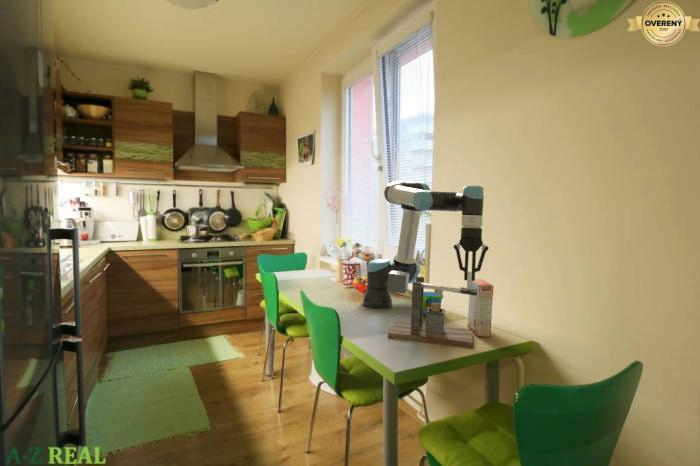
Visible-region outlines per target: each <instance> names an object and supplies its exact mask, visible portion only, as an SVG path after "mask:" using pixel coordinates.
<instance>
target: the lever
mask: <svg viewBox="0 0 700 466" xmlns="http://www.w3.org/2000/svg"><path fill="white" fill-rule="evenodd" d="M408 281H409V273H407V272H400V271H393V270H392V271H391V272H390V273H389V277H388V286H387V291H390V292H392V293H398V294H405V293H406V292H408V289H409V283H408ZM419 282H421V281H419ZM421 287H422V288H425V289H431V290H434V291H433V292H434V295H439V296H442V294H443V293H444V292H450V293H454V294H456V293H457V294H463V295H468V296H469V295H475V296H477V290H476V289H471V290H467V287H463V286H461V287H460V288H459V287H452V286H444V285H439V284H433V283H432V284H431V283H425V282H424V283H421ZM443 295H444V294H443Z"/></svg>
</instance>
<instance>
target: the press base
mask: <svg viewBox="0 0 700 466" xmlns="http://www.w3.org/2000/svg"><path fill="white" fill-rule="evenodd" d="M419 281H421V282H419ZM421 283H425V277H424V276H418V277H416V281H415V282H413V283H412V290H411V292H412V294H411V315H410V317H411V318H410V322H404V321H403V322H402V321H396V320H395V321H394V322H393V324H392V325H391V327H390V329H389V331H388V333H387V338H388V337H391V338H390V339H395V338H398V339H397V340H403V339H404V340H405V341H413V342H421V343H428V344H439V345H447V346H455V347H464V348H470V349H471V348H473V332H472V330H471V329H470V328H469V329H468V328H460V327H450V326H445V311H446V309H445V308H441V310H440V312H433V311H431V309H430V308H429V307H428V308H427V311H426V315H425V324H423V319H424V318H423V317H424V314H423V294H424V292H425V291H424V290H425V289H424V288H422V287H421Z"/></svg>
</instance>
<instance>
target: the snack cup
mask: <svg viewBox="0 0 700 466" xmlns="http://www.w3.org/2000/svg"><path fill="white" fill-rule="evenodd" d="M443 298H444V294H442V296H439V295H434V291H424V294H423V316H426V311H427V308H428V307H429V308H430V307H431V305H432V304H433V303H438V304H439V305H440V306H442V300H443Z"/></svg>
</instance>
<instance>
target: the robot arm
mask: <svg viewBox="0 0 700 466" xmlns="http://www.w3.org/2000/svg"><path fill="white" fill-rule="evenodd" d="M383 196H384V198H385V201H387V202H388V203H390V204H392V205H398V206H399V205H400V209H402V218H401V224H400V225H401V227H400V233H399V238H398V239H399V240H398V246H397V254H396V255H395V256H393V261H391V260H390V259H389V258H377V259H373V260H370V261H369V262H368V263H367V269H366V274H367V275H366V290H365V294H364V295H363V299H362V305H364V306H365V307H369V308H374V309H375V308H376V309H377V308H378V309H384V308H390V307H392V306H393V299H392V295H391V291H387V286H388V277H389V273H390V272H391V271H392V270H393V271H400V272H407V273H409V281H408V284H413V282H416V277H419V273H420V272H419V271H420V270H419V268H420V267H419V264H418V262H417V259H416V258H415V250H416V245H417V238H418V232H419V226H420V218H421V213H422V212H425V211H435V212H436V211H438V212H439V211H440V212H442V211H443V212H461V223H460V224H461V226H462V227H461V229H460V230H461V231H460V239H459V242H458V243H455V244H453V249H454V250H455V253H456V257H457V262H458V267H459V270H460V271H462V272H464V273H463V274H464V276H463V280H464V281H466V288H467V290H471V283H472V281H474V280H475V279H476V273H478V272H480V271H481V269H482V266H483V262H484V259H485V256H486V252H487V251H488V250H489V246H488V245H486V244H484V242H483V240H482V239H483V238H482V237H483V228H482V227H483V215H484V212H483V211H484V199H485V198H484V197H485V196H484V187H482V186H481V185H465V186H463V187H462V192H460V191H459V192H458V191H457V192H453V191H451V192H450V191H436V190H435V191H432V190H431V189H430V187H429V185H428V184H427V183H426V182H423V181H417V180H416V181H414V180H413V181H412V180H411V181H410V180H407V181H406V180H405V181H404V180H395V181H392V182H390V183H388V184H387V185H386V186H385V188H384V191H383ZM461 248H462V250H464V251H465V253H464V264H463V262H462V261H463V260H462V256H461V251H460V249H461ZM480 248H481V250H482V251H481V254H480V256H479V259H478V263H477V266H476V262H477V261H476V259H477V258H476V256H477V252H478V250H479V249H480ZM470 252H472V254H471V271H469V254H470ZM463 265H464V266H463Z"/></svg>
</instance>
